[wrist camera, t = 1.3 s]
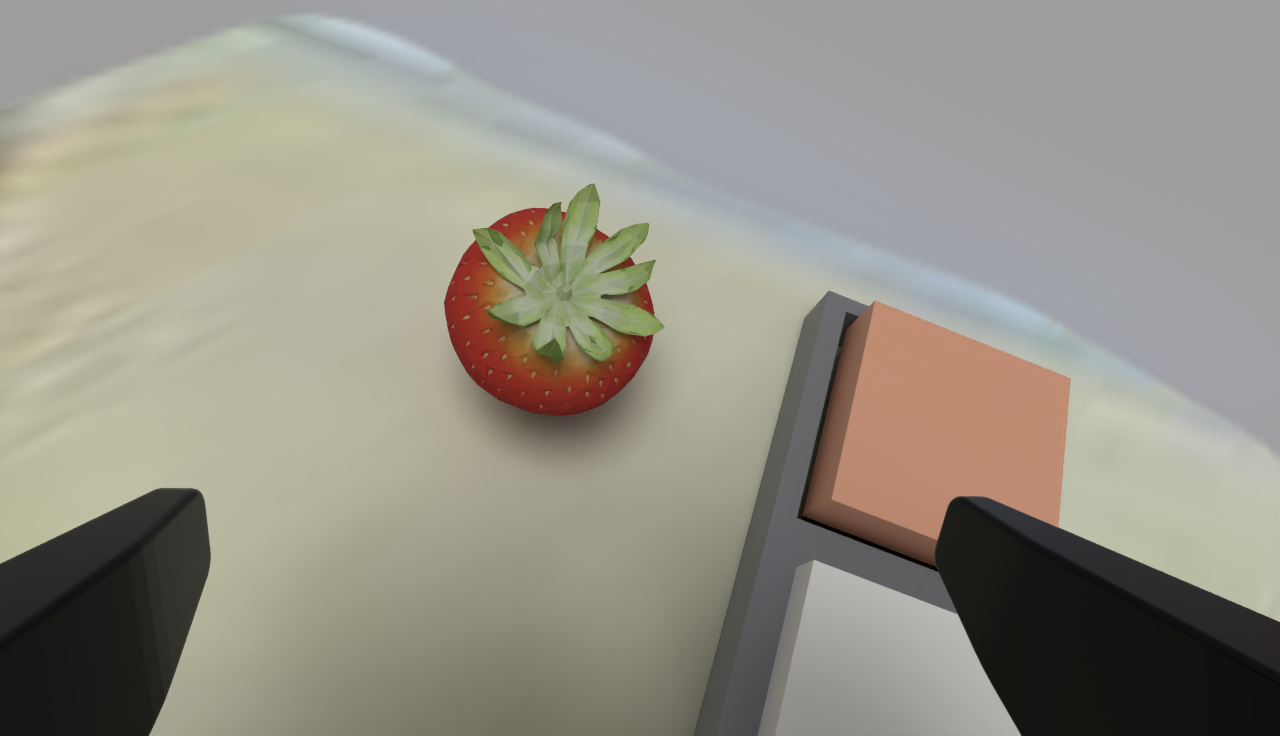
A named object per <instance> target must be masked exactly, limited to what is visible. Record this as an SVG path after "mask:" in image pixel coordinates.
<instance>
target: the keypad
mask: <svg viewBox="0 0 1280 736" xmlns="http://www.w3.org/2000/svg"><path fill="white" fill-rule="evenodd" d="M868 307H869V306H866V305H864V304H861V303H859V302H856V301H854V300H851V299H849V298H846V297H844V296H841V295H839V294H836V293H834V292H831V291H828V292H827V293H826V295H825V296H824V297H823V298H822V299H821V300H820V301H819V303H818V304H817V305H816V306H815V307H814V308H813V309H812V311H811V312H810V313H809V314H808V315H807V316H806V318H805V319H804V323H803V327H802V331H801V334H800V338H799V342H798V346H797V349H796V353H795V357H794V361H793V365H792V368H791V372H790V376H789V380H788V383H787V387H786V391H785V395H784V399H783V402H782V406H781V410H780V414H779V417H778V421H777V425H776V429H775V433H774V436H773V440H772V444H771V448H770V451H769V455H768V459H767V463H766V467H765V470H764V474H763V478H762V482H761V485H760V489H759V493H758V497H757V500H756V504H755V508H754V512H753V516H752V519H751V523H750V527H749V531H748V534H747V538H746V542H745V546H744V550H743V553H742V557H741V561H740V565H739V568H738V572H737V576H736V580H735V584H734V587H733V591H732V595H731V599H730V602H729V606H728V610H727V614H726V618H725V621H724V625H723V629H722V633H721V636H720V640H719V644H718V648H717V652H716V655H715V659H714V663H713V667H712V670H711V674H710V678H709V682H708V685H707V689H706V693H705V697H704V701H703V704H702V708H701V712H700V716H699V719H698V723H697V727H696V731H695V735H694V736H1021V734H1020V733H1019V731H1018V729H1017V728H1016V726H1015V724H1014V722H1013V721H1012V719H1011V717H1010V715H1009V714H1008V712H1007V710H1006V709H1005V707H1004V705H1003V703H1002V702H1001V700H1000V698H999V697H998V695H997V693H996V691H995V690H994V688H993V686H992V684H991V682H990V681H989V679H988V677H987V675H986V673H985V672H984V670H983V668H982V666H981V664H980V661H979V659H978V657H977V655H976V653H975V651H974V649H973V647H972V645H971V642H970V640H969V638H968V636H967V634H966V631H965V629H964V627H963V625H962V623H961V621H960V618H959V616H958V614H957V612H956V610H955V607H954V605H953V603H952V601H951V599H950V596H949V594H948V592H947V590H946V588H945V586H944V583H943V581H942V579H941V577H940V575H939V572H937V571H934V570H931V569H929V568H926V567H923V566H921V565H918V564H916V563H913V562H910V561H908V560H905V559H903V558H900V557H897V556H895V555H892V554H889V553H887V552H884V551H882V550H879V549H876V548H874V547H871V546H869V545H866V544H863V543H861V542H858V541H855V540H853V539H850V538H848V537H845V536H842V535H840V534H837V533H835V532H832V531H829V530H827V529H824V528H821V527H819V526H816V525H814V524H811V523H808V522H806V521H803V520H801V519H798V518H797V516H798V511H799V507H800V503H801V499H802V495H803V490H804V486H805V482H806V478H807V474H808V469H809V465H810V461H811V457H812V453H813V448H814V444H815V440H816V436H817V432H818V427H819V423H820V419H821V415H822V411H823V406H824V402H825V398H826V394H827V390H828V385H829V381H830V377H831V373H832V369H833V364H834V360H835V356H836V352H837V348H838V345H839V346H842V344H843V340H844V336H845V332H846V329H847V328H848V327H849V326H850V325H851V324H852V323H853V322H854V321H855V320H856V319H857V318H858V317H859V316H860V315H861V314H862V313H863V312H864V311H865V310H866V309H867V308H868Z"/></svg>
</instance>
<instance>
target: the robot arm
mask: <svg viewBox="0 0 1280 736" xmlns="http://www.w3.org/2000/svg"><path fill="white" fill-rule="evenodd" d="M210 560H211V552H210V543H209V534H208V525H207V516H206V507H205V501H204V498H203V495H202V493H201V492H200V491H199V490H197V489H193V488H160V489H156V490H153V491H151V492H149V493H147V494H145V495H143V496H141V497H139V498H137V499H135V500H133V501H130V502H128V503H126V504H124V505H122V506H120V507H118V508H116V509H114V510H112V511H110V512H107V513H105V514H103V515H101V516H99V517H97V518H95V519H93V520H91V521H89V522H87V523H85V524H82V525H80V526H78V527H76V528H74V529H72V530H70V531H68V532H66V533H64V534H62V535H59V536H57V537H55V538H53V539H51V540H49V541H47V542H45V543H43V544H41V545H39V546H37V547H34V548H32V549H30V550H28V551H26V552H24V553H22V554H20V555H18V556H16V557H14V558H11V559H9V560H7V561H5V562H3V563H1V564H0V736H149V734H150V732H151V730H152V728H153V726H154V724H155V722H156V719H157V717H158V715H159V713H160V710H161V708H162V706H163V704H164V701H165V699H166V696H167V694H168V691H169V688H170V685H171V683H172V680H173V677H174V674H175V671H176V668H177V665H178V662H179V659H180V656H181V653H182V650H183V648H184V645H185V642H186V639H187V636H188V633H189V630H190V627H191V624H192V621H193V618H194V615H195V612H196V609H197V606H198V603H199V600H200V597H201V594H202V591H203V588H204V585H205V582H206V579H207V576H208V573H209V568H210ZM935 563H936V567H937V570H938V572H939V575H940V577H941V579H942V581H943V583H944V586H945V588H946V590H947V592H948V594H949V596H950V599H951V601H952V603H953V605H954V607H955V610H956V612H957V614H958V616H959V618H960V621H961V623H962V625H963V627H964V629H965V631H966V634H967V636H968V638H969V640H970V642H971V645H972V647H973V649H974V651H975V653H976V655H977V657H978V659H979V661H980V664H981V666H982V668H983V670H984V672H985V673H986V675H987V677H988V679H989V681H990V682H991V684H992V686H993V688H994V690H995V691H996V693H997V695H998V697H999V698H1000V700H1001V702H1002V703H1003V705H1004V707H1005V709H1006V710H1007V712H1008V714H1009V715H1010V717H1011V719H1012V721H1013V722H1014V724H1015V726H1016V728H1017V729H1018V731H1019V733H1020V734H1021V736H1280V622H1279V621H1276V620H1274V619H1272V618H1269V617H1267V616H1265V615H1262V614H1260V613H1257V612H1255V611H1253V610H1250V609H1248V608H1246V607H1243V606H1241V605H1239V604H1236V603H1234V602H1232V601H1229V600H1227V599H1225V598H1222V597H1220V596H1218V595H1215V594H1213V593H1211V592H1208V591H1206V590H1204V589H1201V588H1199V587H1197V586H1194V585H1192V584H1190V583H1187V582H1185V581H1182V580H1180V579H1178V578H1175V577H1173V576H1171V575H1168V574H1166V573H1164V572H1161V571H1159V570H1157V569H1154V568H1152V567H1150V566H1147V565H1145V564H1143V563H1140V562H1138V561H1136V560H1133V559H1131V558H1129V557H1126V556H1124V555H1122V554H1119V553H1117V552H1114V551H1112V550H1110V549H1107V548H1105V547H1103V546H1100V545H1098V544H1096V543H1093V542H1091V541H1089V540H1086V539H1084V538H1082V537H1079V536H1077V535H1075V534H1072V533H1070V532H1068V531H1065V530H1063V529H1061V528H1058V527H1056V526H1054V525H1051V524H1049V523H1047V522H1044V521H1042V520H1039V519H1037V518H1035V517H1032V516H1030V515H1028V514H1025V513H1023V512H1021V511H1018V510H1016V509H1014V508H1011V507H1009V506H1007V505H1004V504H1002V503H1000V502H997V501H995V500H993V499H990V498H988V497H983V496H958V497H955V498H954V499H952V500H951V502H950V503H949V505H948V507H947V510H946V514H945V517H944V520H943V524H942V527H941V530H940V534H939V537H938V540H937V544H936V547H935Z"/></svg>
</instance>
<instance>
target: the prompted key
mask: <svg viewBox="0 0 1280 736" xmlns="http://www.w3.org/2000/svg"><path fill="white" fill-rule="evenodd" d="M1069 390H1070V378H1068V377H1066V376H1063V375H1061V374H1058V373H1056V372H1053V371H1051V370H1048V369H1046V368H1043V367H1041V366H1038V365H1036V364H1033V363H1031V362H1028V361H1026V360H1023V359H1021V358H1018V357H1016V356H1013V355H1011V354H1008V353H1005V352H1003V351H1000V350H998V349H995V348H993V347H990V346H988V345H985V344H983V343H980V342H978V341H975V340H973V339H970V338H968V337H965V336H963V335H960V334H958V333H955V332H953V331H950V330H948V329H945V328H943V327H940V326H938V325H935V324H933V323H930V322H928V321H925V320H923V319H920V318H918V317H915V316H913V315H910V314H908V313H905V312H903V311H900V310H898V309H895V308H892V307H890V306H887V305H885V304H882V303H880V302H877V301H874V302H873V303H872V304H871V305H870V306H869V307H868V308H867V309H866V310H865V311H864V312H863V313H862V314H861V315H860V316H859V317H858V318H857V319H856V320H855V321H854V322H853V323H852V324H851V325H850V326H849V327H848V328H847V329H846V332H845V336H844V340H843V344H842V349H841V353H840V357H839V361H838V366H837V370H836V374H835V378H834V383H833V387H832V391H831V395H830V400H829V404H828V408H827V412H826V417H825V421H824V425H823V429H822V434H821V438H820V442H819V446H818V451H817V455H816V459H815V463H814V468H813V472H812V476H811V480H810V485H809V489H808V493H807V497H806V502H805V506H804V510H803V514H802V516H805V517H807V518H810V519H812V520H815V521H818V522H820V523H823V524H826V525H828V526H831V527H833V528H836V529H839V530H841V531H844V532H846V533H849V534H852V535H854V536H857V537H860V538H862V539H865V540H867V541H870V542H873V543H875V544H878V545H880V546H883V547H886V548H888V549H891V550H893V551H896V552H899V553H901V554H904V555H907V556H909V557H912V558H914V559H917V560H920V561H922V562H925V563H927V564H930V565H933V566H935V567H936V563H935V547H936V544H937V540H938V537H939V534H940V530H941V527H942V524H943V520H944V517H945V514H946V510H947V507H948V505H949V503H950V502H951V500H952V499H954V498H955V497H958V496H983V497H988V498H990V499H993V500H995V501H997V502H1000V503H1002V504H1004V505H1007V506H1009V507H1011V508H1014V509H1016V510H1018V511H1021V512H1023V513H1025V514H1028V515H1030V516H1032V517H1035V518H1037V519H1039V520H1042V521H1044V522H1047V523H1049V524H1051V525H1054V526H1056V527H1058V524H1059V512H1060V499H1061V487H1062V475H1063V463H1064V451H1065V439H1066V427H1067V415H1068V402H1069Z"/></svg>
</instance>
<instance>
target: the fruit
mask: <svg viewBox="0 0 1280 736" xmlns="http://www.w3.org/2000/svg"><path fill="white" fill-rule="evenodd" d="M560 205H561V202H559V203H555V204H553V205H552V206H551V207H550V208H549V209H545V208H530V209H524V210H521V211H518V212H514V213H511V214H508V215H507V216H505V217H503V218H501V219H500V220H498V221H497V222H495V223H494V224H493V225H491V226H490V227H489V228H481V229H473V233H474V236H475V238H476V240H475V241H474V243H473V244H472V245H471V246H470V247H469V248H468V249H467V251H466V252H465V253H464V255H463V256H462V258H461V260H460V262H459V264H458V266H457V268H456V271H455V273H454V275H453V277H452V280H451V282H450V285H449V287H448V290H447V294H446V297H445V301H444V306H445V315H446V320H447V326H448V331H449V335H450V339H451V342H452V345H453V347H454V349H455V351H456V353H457V355H458V357H459V359H460V361H461V363H462V364H463V366H464V368H465V370H466V371H467V373H468V374H469V375H470V376H471V377H472V379H473V380H474V381H475V382H476V383H477V384H478V385H479V386H480V387H481V388H483V389H484V390H485V391H487V392H488V393H490V394H491V395H493V396H494V397H496V398H497V399H499V400H500V401H503V402H505V403H508V404H510V405H513V406H515V407H518V408H520V409H523V410H526V411H530V412H533V413H538V414H548V415H573V414H578V413H581V412H584V411H587V410H590V409H593V408H596V407H598V406H600V405H602V404H604V403H605V402H606V401H608V400H609V399H610V398H612V397H613V396H614V395H616V394H617V393H618V392H619V391H620V390H621V389H622V388H624V387H625V386H626V384H627V383H628V382H629V381H630V380H631V379H632V378H633V377H634V376H635V374H636V373H637V371H638V369H639V368H640V366H641V365H642V363H643V361H644V360H645V358H646V357H647V355H648V352H649V349H650V346H651V343H652V339H653V334H655V333H657V332H658V331H660V330H661V329H663V328H664V326H663V325H662V323H661V322H660V321H659V320H658V319H657V318H656V317H655V316H654V309H653V304H652V300H651V297H650V293H649V290H648V287H647V284H646V282H647V281H648V280H649V279H650V276H651V272H652V269H653V265H654V263H655V261H656V260H652V261H649V262H645V263H641V264H637V265H635V264H634V262H633V260H632V259H631V257H630V256H631V255H632V253H633V252H634V251H635V250H636V249H637V248H638V247H639V246H640V245H641V244H642V243H643V242H644V241H645V239H646V237H647V234H648V229H649V224H648V223H643V224H635V225H632V226H629V227H627V228H624V229H621V230H620V231H618V232H617V233H616V234H614V235H613V236H611V237H610V238H609V237H608V236H607V235H605V234H604V233H602V232H600V231H599V230H598V229H597V222H598V215H599V207H600V200H599V196H598V193H597V190H596V187H595V184H590V185H588V186H586V187H585V188H583V189H582V190H580V191H579V192H578V193H577V194H576V196H575V197H574V198H573V199H572V201H571V202H570V204H569V207H568V209H567V212H566V213H565V212H561V207H560Z"/></svg>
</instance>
